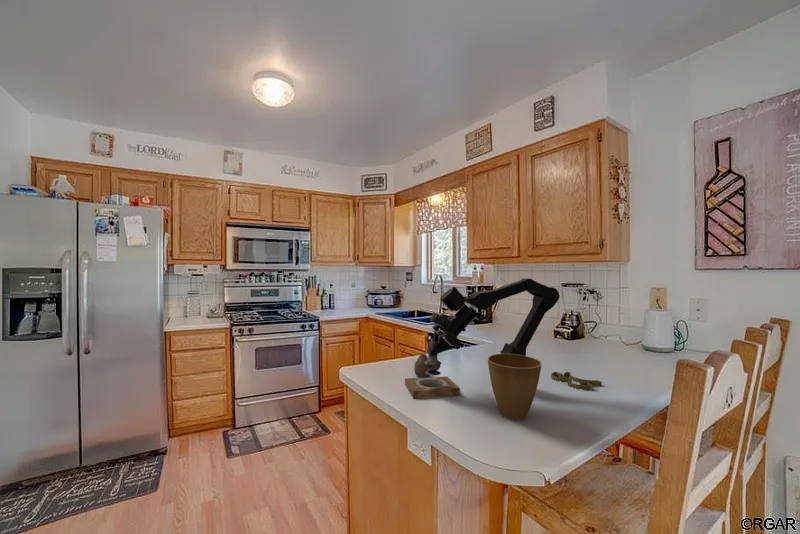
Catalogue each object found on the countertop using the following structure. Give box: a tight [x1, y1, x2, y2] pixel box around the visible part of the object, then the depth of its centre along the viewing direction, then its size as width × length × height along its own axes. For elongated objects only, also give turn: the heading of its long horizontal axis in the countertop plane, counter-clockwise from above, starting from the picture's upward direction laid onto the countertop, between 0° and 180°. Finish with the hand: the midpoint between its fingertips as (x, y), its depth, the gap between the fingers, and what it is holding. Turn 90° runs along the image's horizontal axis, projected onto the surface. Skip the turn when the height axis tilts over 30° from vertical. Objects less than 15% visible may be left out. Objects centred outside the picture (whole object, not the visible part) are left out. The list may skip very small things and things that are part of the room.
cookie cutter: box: [550, 371, 603, 392], centre depth 132 cm, size 18×12×2 cm, turn 29°
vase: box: [413, 353, 431, 378], centre depth 136 cm, size 7×7×9 cm
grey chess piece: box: [424, 337, 442, 376], centre depth 119 cm, size 6×6×12 cm
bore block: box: [404, 376, 461, 399], centre depth 121 cm, size 16×13×2 cm
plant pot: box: [487, 353, 543, 421], centre depth 102 cm, size 15×15×16 cm
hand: (428, 353), depth 119 cm, fingers closed on grey chess piece, 4 cm apart
